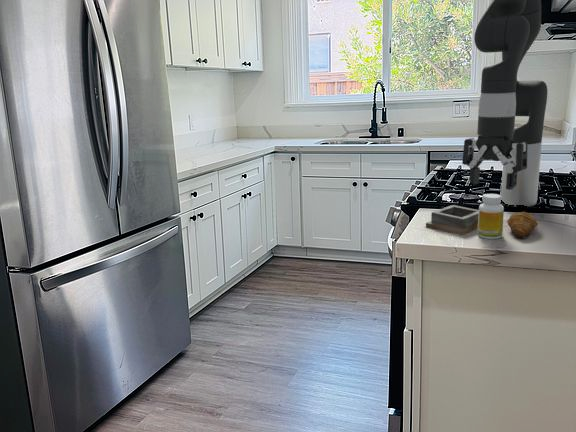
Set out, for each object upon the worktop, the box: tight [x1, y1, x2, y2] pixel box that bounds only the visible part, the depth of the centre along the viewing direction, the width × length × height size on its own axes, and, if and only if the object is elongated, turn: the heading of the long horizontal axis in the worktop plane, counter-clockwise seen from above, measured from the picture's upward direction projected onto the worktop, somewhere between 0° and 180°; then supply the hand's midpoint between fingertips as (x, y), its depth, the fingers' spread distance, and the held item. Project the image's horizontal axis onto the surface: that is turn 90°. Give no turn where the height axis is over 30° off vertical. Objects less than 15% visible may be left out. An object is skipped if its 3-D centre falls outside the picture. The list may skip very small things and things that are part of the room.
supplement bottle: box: [477, 193, 505, 240], centre depth 119 cm, size 5×5×10 cm
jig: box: [425, 204, 479, 236], centre depth 129 cm, size 12×10×4 cm
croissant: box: [506, 211, 539, 239], centre depth 122 cm, size 14×7×5 cm, turn 153°
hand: (491, 186), depth 117 cm, fingers open, 8 cm apart
